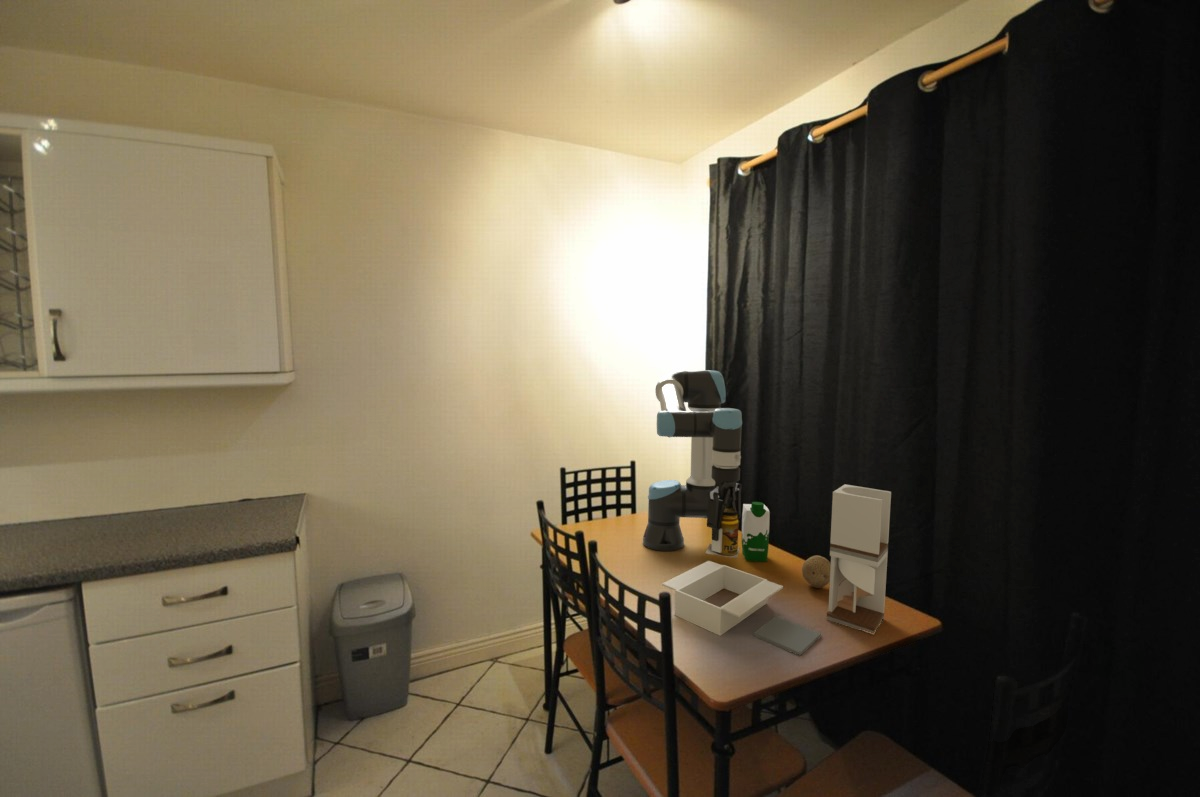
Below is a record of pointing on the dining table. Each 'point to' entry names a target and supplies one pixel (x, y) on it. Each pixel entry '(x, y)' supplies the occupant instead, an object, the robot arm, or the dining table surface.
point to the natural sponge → (817, 571)
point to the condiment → (728, 534)
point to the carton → (710, 581)
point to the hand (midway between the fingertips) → (723, 547)
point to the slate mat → (787, 635)
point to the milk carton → (755, 531)
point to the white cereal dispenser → (858, 556)
